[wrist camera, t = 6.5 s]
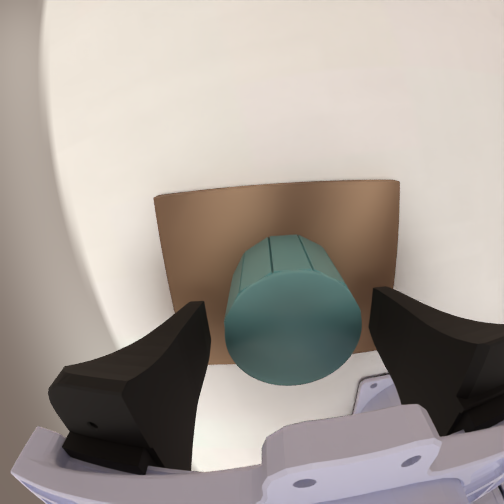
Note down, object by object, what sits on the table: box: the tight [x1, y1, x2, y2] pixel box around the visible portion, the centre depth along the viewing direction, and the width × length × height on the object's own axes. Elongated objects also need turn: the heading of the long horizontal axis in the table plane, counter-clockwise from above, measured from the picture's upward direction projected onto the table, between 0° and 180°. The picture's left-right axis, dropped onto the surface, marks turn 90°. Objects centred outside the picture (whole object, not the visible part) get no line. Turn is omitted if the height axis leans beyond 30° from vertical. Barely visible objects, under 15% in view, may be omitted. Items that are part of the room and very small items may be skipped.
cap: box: [224, 234, 362, 386], centre depth 13 cm, size 5×5×4 cm
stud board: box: [154, 180, 400, 365], centre depth 14 cm, size 12×10×4 cm
